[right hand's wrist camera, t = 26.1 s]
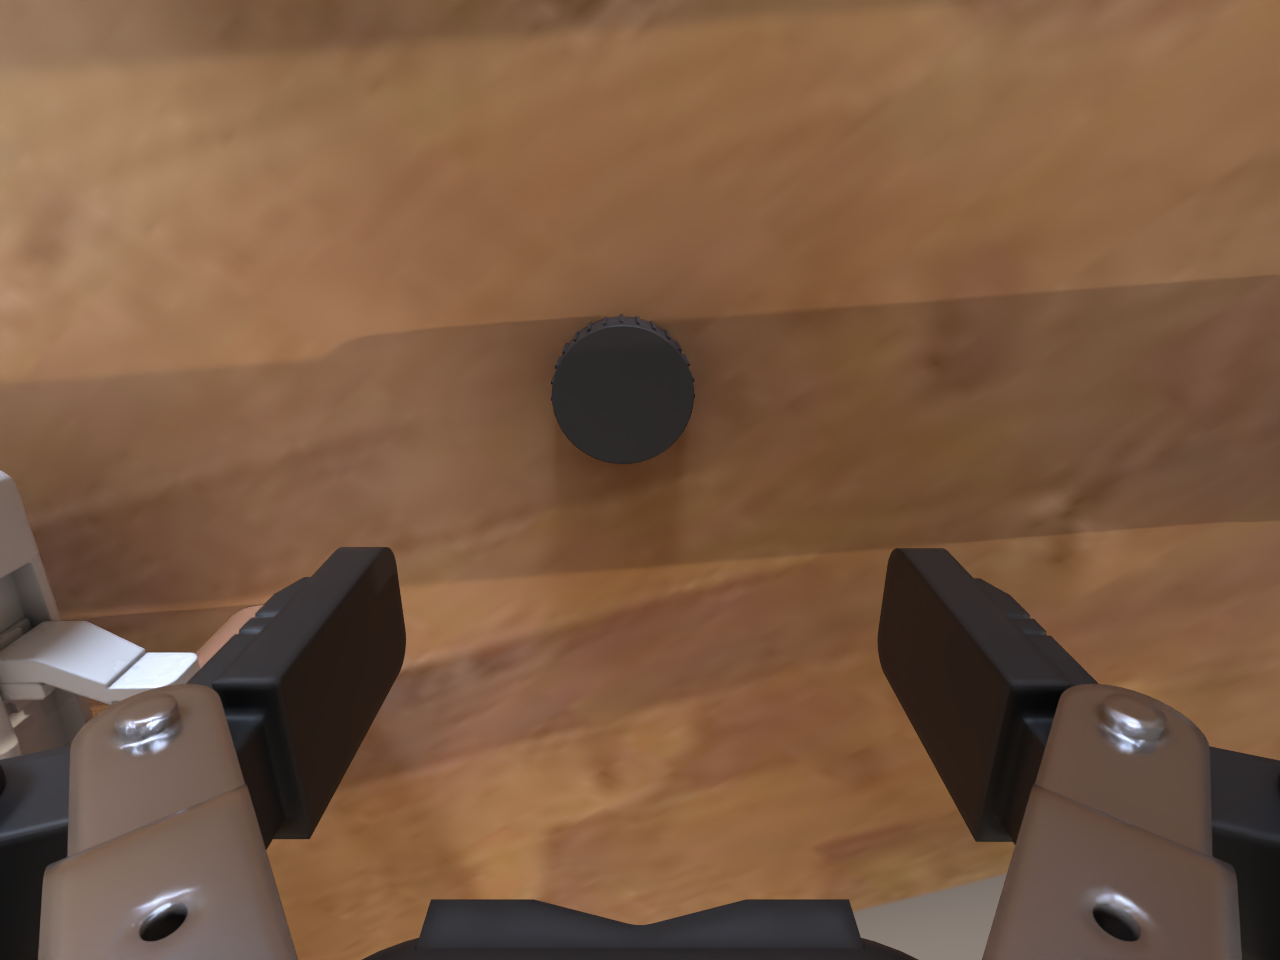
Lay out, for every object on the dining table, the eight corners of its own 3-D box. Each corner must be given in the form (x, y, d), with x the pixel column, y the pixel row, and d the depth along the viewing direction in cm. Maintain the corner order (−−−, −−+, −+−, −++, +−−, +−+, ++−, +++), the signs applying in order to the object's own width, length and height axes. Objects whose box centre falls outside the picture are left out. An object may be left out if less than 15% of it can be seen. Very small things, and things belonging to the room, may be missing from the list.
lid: (547, 436, 25) (541, 455, 23) (563, 303, 24) (558, 311, 22) (676, 455, 26) (681, 475, 24) (701, 325, 24) (709, 335, 22)
